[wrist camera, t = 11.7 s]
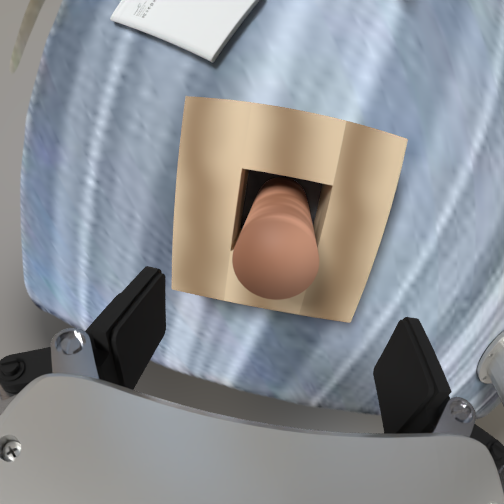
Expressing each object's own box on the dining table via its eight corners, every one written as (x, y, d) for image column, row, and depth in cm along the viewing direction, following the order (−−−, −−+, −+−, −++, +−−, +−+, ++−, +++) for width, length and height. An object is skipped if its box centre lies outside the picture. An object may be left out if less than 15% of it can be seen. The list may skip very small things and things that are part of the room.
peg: (311, 182, 25) (328, 231, 14) (301, 229, 27) (307, 305, 16) (260, 172, 25) (238, 214, 14) (253, 220, 27) (227, 291, 16)
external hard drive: (214, 64, 22) (116, 22, 20) (264, -3, 19) (160, -38, 17) (210, 60, 20) (108, 19, 19) (263, -10, 17) (153, -44, 15)
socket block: (386, 135, 22) (407, 139, 18) (342, 292, 29) (350, 322, 25) (204, 100, 23) (185, 96, 18) (188, 263, 30) (171, 289, 25)
